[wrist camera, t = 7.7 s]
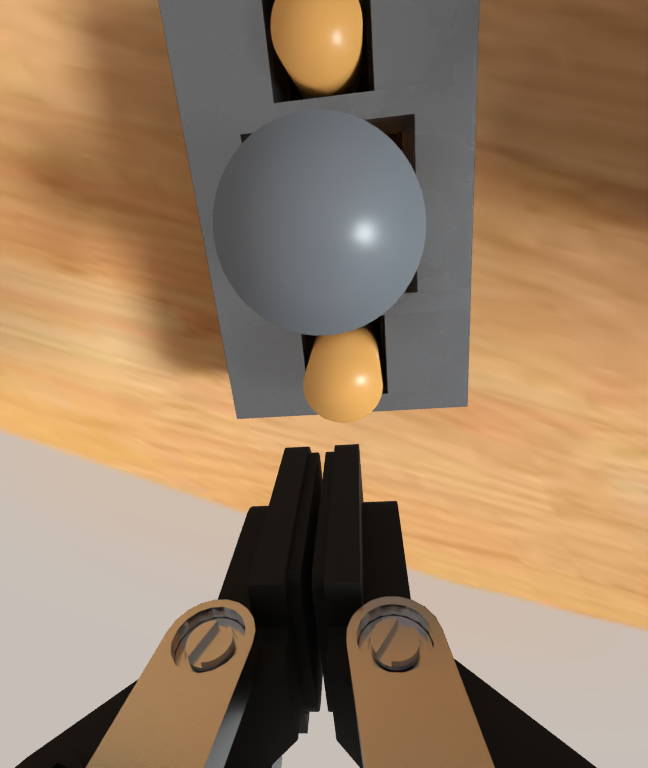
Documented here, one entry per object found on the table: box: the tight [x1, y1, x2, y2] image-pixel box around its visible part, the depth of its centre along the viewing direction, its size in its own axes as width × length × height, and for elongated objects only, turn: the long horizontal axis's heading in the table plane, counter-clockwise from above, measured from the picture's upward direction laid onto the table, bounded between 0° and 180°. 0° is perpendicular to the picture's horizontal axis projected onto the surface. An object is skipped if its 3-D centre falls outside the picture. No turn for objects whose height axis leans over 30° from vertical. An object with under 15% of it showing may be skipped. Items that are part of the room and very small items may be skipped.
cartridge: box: [213, 109, 426, 336], centre depth 16 cm, size 5×5×12 cm
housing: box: [158, 0, 479, 419], centre depth 19 cm, size 16×10×5 cm, turn 6°
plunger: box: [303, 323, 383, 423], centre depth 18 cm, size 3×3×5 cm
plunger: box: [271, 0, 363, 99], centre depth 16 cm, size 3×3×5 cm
